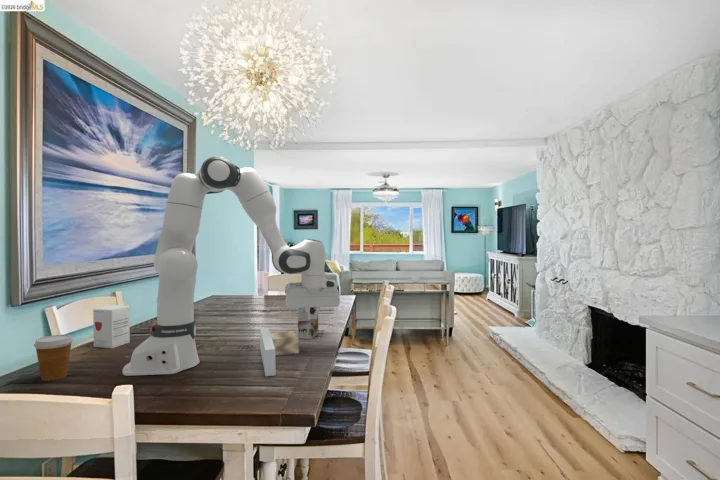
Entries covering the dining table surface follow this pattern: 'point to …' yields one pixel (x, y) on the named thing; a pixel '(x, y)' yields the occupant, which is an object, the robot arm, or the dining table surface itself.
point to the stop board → (267, 352)
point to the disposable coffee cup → (53, 356)
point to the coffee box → (307, 324)
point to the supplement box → (111, 326)
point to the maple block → (285, 343)
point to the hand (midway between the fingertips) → (312, 319)
